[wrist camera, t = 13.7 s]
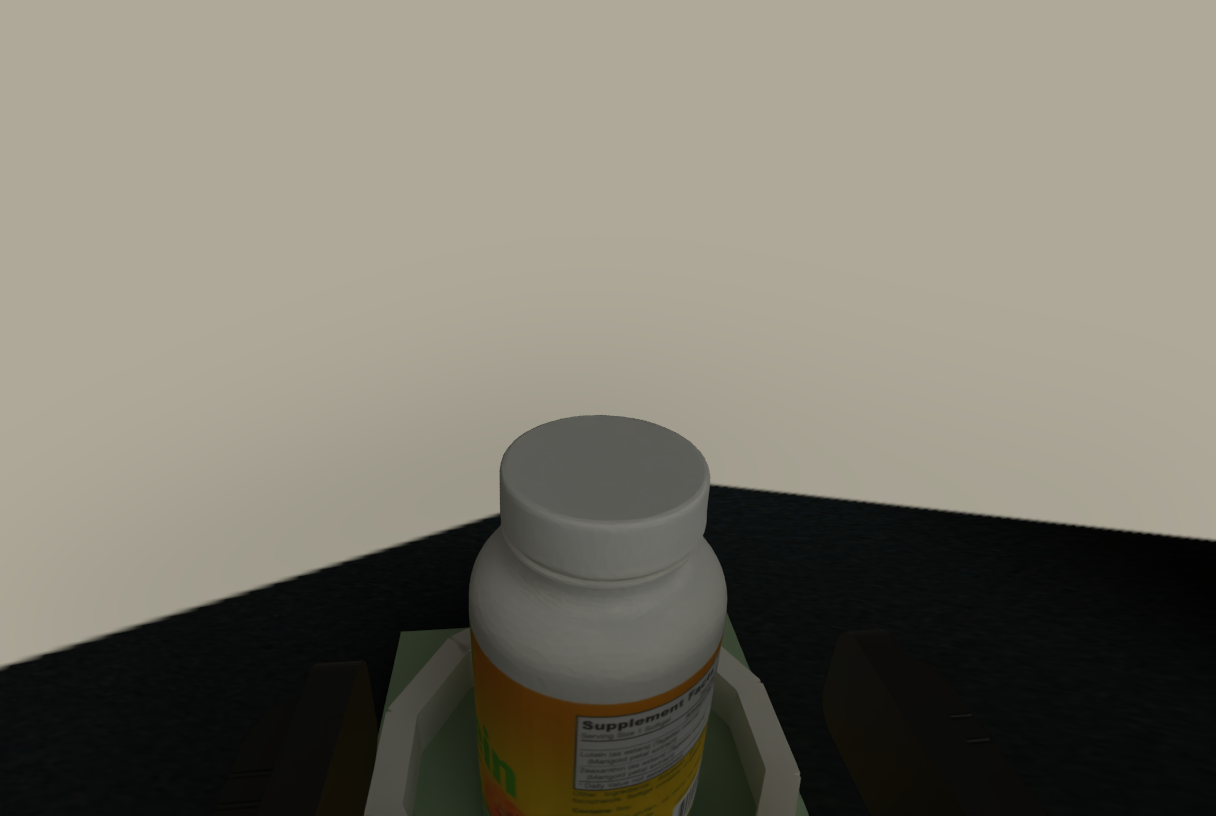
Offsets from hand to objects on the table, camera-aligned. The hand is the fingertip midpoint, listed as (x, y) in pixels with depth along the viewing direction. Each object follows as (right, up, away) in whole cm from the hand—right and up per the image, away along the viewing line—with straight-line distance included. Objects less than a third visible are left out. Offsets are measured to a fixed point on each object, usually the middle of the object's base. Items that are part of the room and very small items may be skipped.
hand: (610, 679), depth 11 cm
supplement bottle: (-1, -5, +6) cm, 8 cm away
